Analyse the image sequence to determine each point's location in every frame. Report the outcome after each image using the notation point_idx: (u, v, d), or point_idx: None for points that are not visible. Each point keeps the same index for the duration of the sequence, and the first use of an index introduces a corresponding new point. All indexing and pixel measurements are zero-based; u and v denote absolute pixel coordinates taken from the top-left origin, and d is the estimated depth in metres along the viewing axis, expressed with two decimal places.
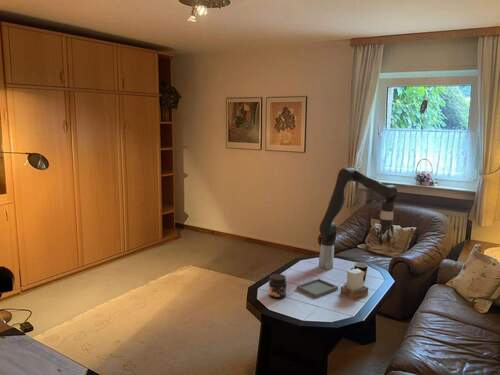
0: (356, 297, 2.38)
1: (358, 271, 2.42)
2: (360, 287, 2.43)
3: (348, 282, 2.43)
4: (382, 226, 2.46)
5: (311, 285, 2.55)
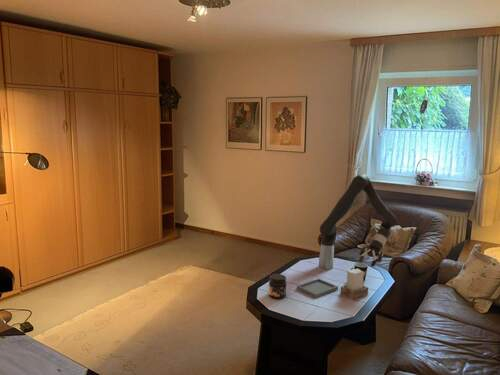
0: (356, 297, 2.38)
1: (358, 271, 2.42)
2: (360, 287, 2.43)
3: (348, 282, 2.43)
4: (379, 250, 2.49)
5: (311, 285, 2.55)
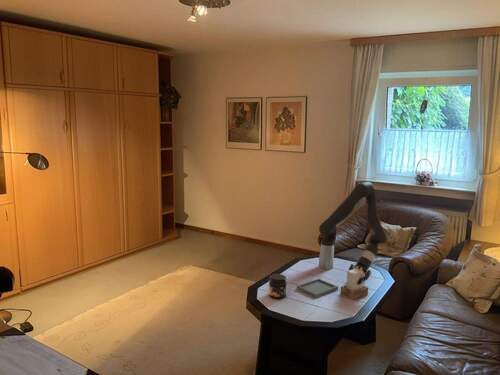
0: (356, 297, 2.38)
1: (358, 271, 2.42)
2: (360, 287, 2.43)
3: (348, 282, 2.43)
4: (367, 267, 2.44)
5: (311, 285, 2.55)
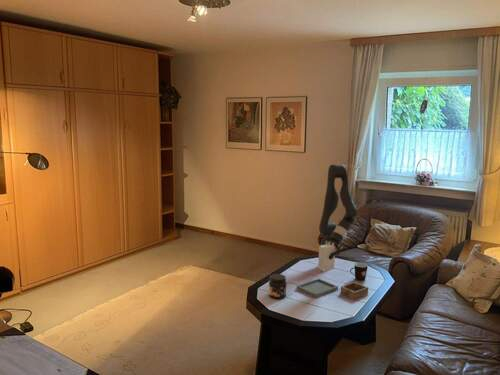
0: (356, 297, 2.38)
1: (330, 246, 2.45)
2: (331, 262, 2.46)
3: (320, 257, 2.46)
4: (339, 242, 2.46)
5: (311, 285, 2.55)
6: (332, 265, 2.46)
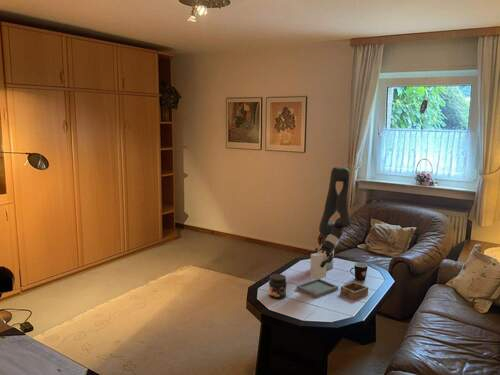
0: (356, 297, 2.38)
1: (321, 254, 2.47)
2: (323, 270, 2.47)
3: (312, 265, 2.48)
4: (331, 251, 2.48)
5: (311, 285, 2.55)
6: (324, 273, 2.48)
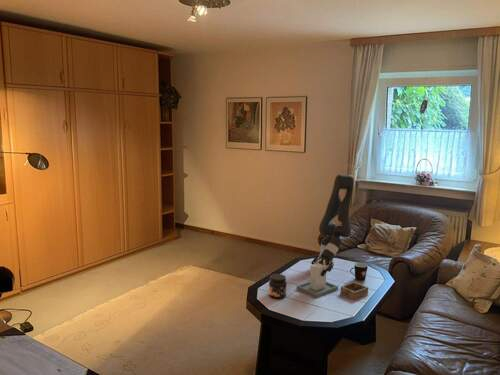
0: (356, 297, 2.38)
1: (321, 265, 2.48)
2: (323, 281, 2.49)
3: (311, 276, 2.49)
4: (330, 260, 2.49)
5: None
6: (323, 284, 2.50)
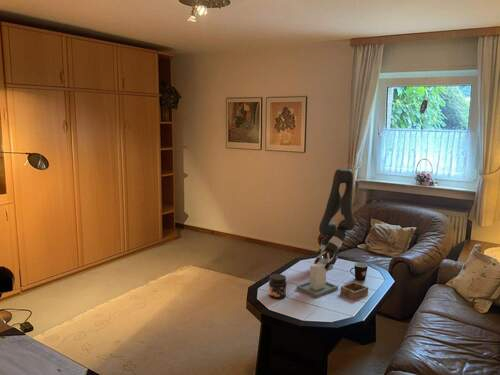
0: (356, 297, 2.38)
1: (320, 265, 2.48)
2: (323, 281, 2.49)
3: (311, 276, 2.49)
4: (334, 253, 2.52)
5: None
6: (324, 283, 2.50)
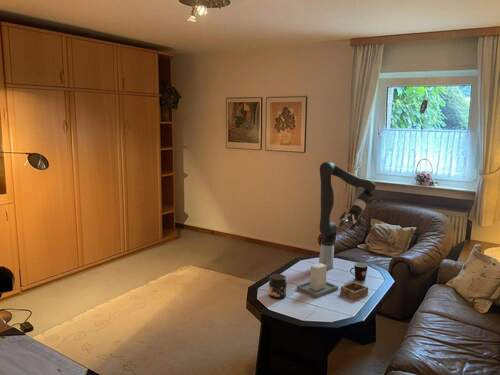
0: (356, 297, 2.38)
1: (321, 265, 2.48)
2: (323, 281, 2.49)
3: (312, 276, 2.49)
4: (358, 214, 2.56)
5: None
6: (324, 284, 2.50)
